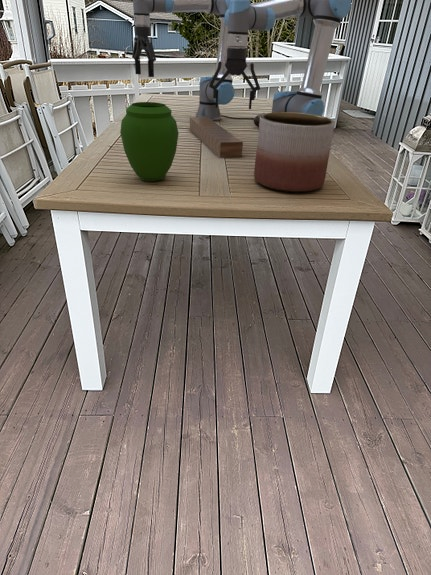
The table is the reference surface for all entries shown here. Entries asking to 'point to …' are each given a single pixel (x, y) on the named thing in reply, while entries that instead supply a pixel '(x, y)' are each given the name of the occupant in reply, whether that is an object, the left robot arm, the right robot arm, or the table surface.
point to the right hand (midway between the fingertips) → (233, 108)
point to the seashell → (257, 119)
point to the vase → (149, 139)
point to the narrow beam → (216, 137)
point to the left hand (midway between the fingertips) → (144, 75)
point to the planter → (293, 151)
